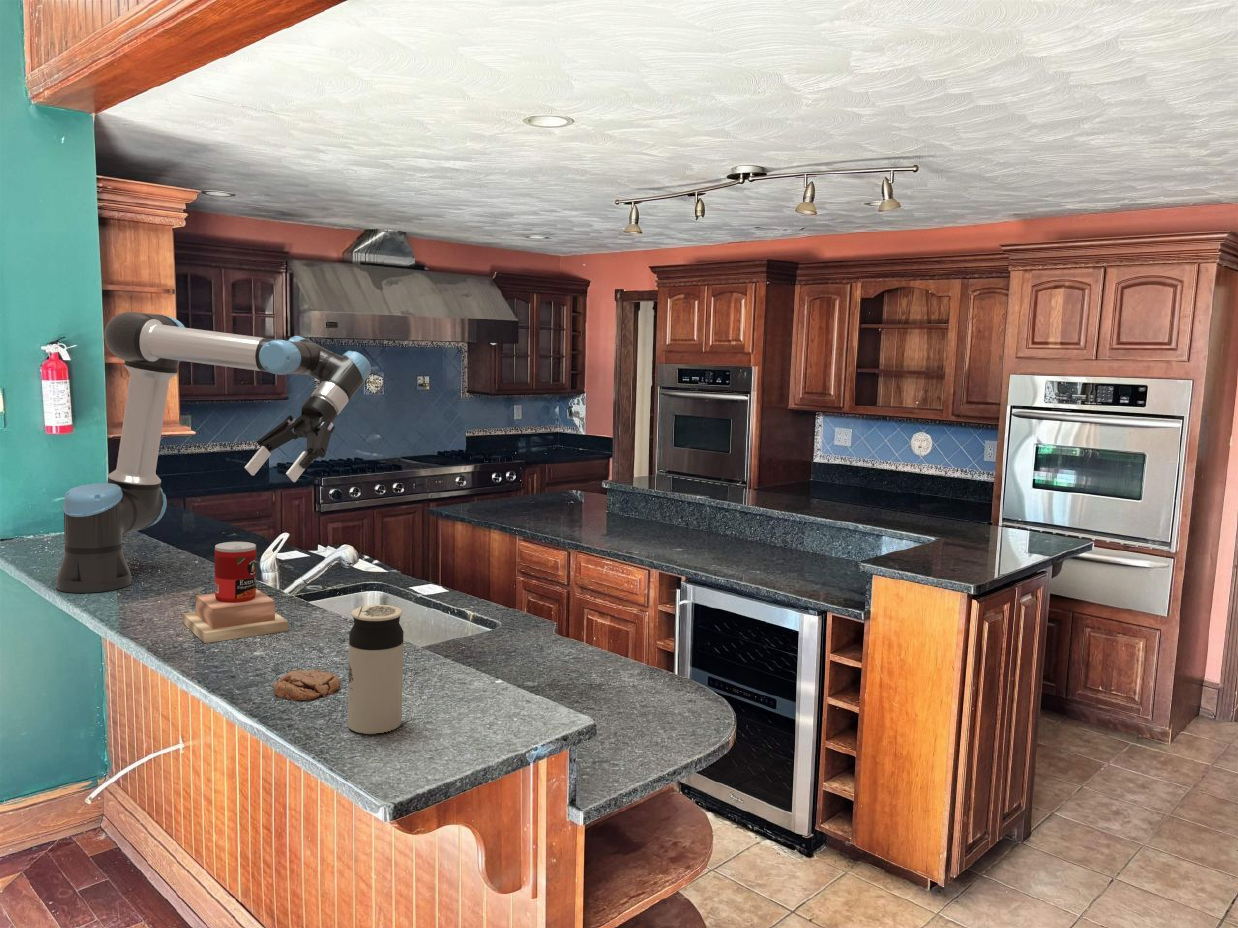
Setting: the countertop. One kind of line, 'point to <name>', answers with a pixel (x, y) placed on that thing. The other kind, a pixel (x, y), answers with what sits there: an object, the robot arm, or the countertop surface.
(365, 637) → the travel mug
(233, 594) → the canned food
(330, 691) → the cookie
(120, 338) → the robot arm
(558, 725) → the countertop surface
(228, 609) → the stand
